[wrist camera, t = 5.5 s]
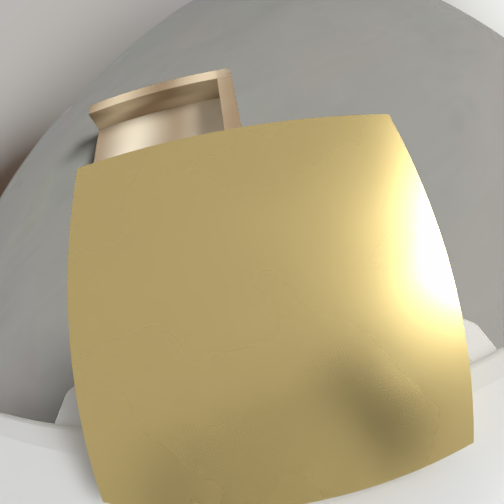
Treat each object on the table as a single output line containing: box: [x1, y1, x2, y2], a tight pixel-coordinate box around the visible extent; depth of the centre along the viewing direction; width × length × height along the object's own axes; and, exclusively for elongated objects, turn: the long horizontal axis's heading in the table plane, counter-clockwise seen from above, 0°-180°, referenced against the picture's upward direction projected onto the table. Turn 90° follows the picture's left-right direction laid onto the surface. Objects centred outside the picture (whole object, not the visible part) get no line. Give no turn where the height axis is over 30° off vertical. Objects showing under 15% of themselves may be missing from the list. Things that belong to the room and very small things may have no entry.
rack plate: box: [89, 68, 241, 163], centre depth 19 cm, size 11×11×3 cm
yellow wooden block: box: [68, 114, 474, 504], centre depth 10 cm, size 4×4×14 cm
